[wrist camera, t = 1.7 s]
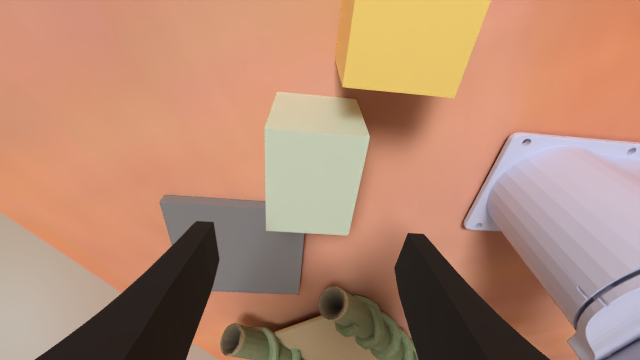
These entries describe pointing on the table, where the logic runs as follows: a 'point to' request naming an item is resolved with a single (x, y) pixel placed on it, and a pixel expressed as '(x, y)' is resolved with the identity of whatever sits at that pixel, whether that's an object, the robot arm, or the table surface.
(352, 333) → the stretcher
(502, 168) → the robot arm
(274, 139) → the sage brick
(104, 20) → the table surface
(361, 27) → the mustard brick
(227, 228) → the baseplate
